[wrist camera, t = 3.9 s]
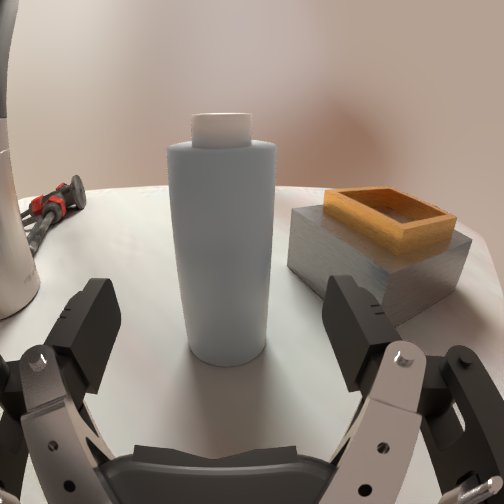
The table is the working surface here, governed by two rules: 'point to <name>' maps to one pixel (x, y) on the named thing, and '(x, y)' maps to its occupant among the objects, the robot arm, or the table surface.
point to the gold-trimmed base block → (379, 247)
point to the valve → (52, 209)
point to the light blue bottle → (223, 235)
